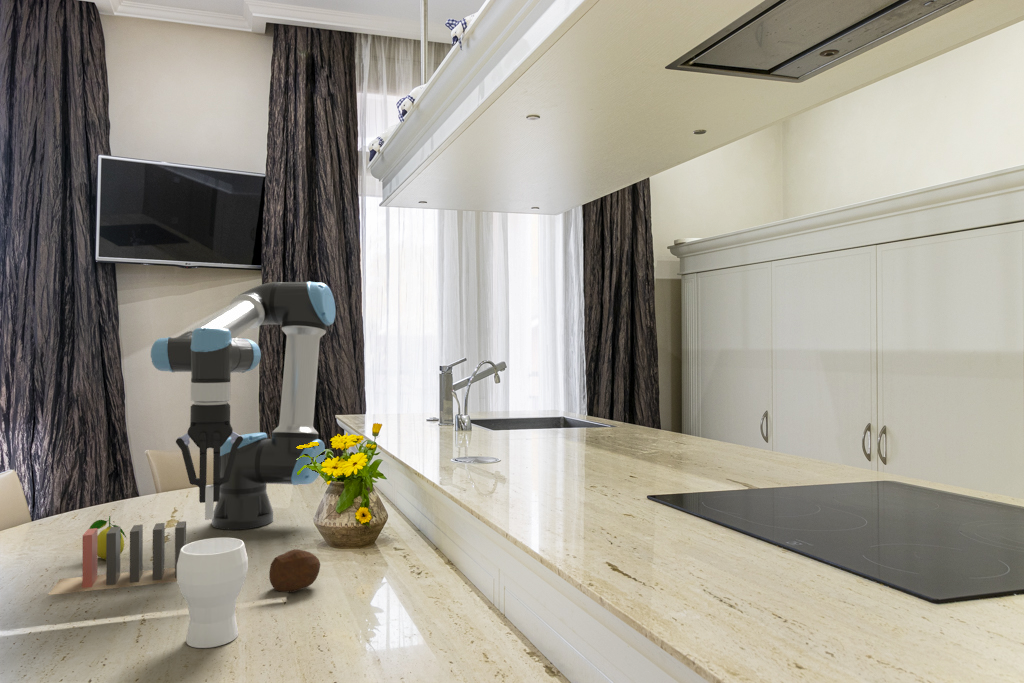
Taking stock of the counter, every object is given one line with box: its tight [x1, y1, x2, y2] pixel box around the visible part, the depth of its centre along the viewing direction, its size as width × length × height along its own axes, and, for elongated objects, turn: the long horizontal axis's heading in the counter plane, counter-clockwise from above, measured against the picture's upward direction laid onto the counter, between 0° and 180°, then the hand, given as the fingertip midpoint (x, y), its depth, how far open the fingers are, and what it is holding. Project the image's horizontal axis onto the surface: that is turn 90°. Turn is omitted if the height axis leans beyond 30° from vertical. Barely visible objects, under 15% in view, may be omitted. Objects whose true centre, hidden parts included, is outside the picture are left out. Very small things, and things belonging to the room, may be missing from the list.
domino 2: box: [105, 525, 121, 585], centre depth 137 cm, size 2×5×10 cm, turn 21°
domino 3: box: [129, 524, 144, 583], centre depth 139 cm, size 2×5×10 cm, turn 21°
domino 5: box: [174, 520, 187, 578], centre depth 141 cm, size 2×5×10 cm, turn 21°
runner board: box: [47, 567, 178, 596], centre depth 138 cm, size 26×9×1 cm, turn 111°
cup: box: [176, 537, 249, 649], centre depth 113 cm, size 11×11×15 cm
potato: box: [268, 548, 321, 594], centre depth 135 cm, size 7×10×8 cm
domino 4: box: [152, 522, 166, 580], centre depth 140 cm, size 2×5×10 cm, turn 21°
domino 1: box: [81, 528, 99, 588], centre depth 136 cm, size 2×5×10 cm, turn 21°
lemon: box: [88, 515, 127, 561], centre depth 151 cm, size 7×6×10 cm
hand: (209, 517), depth 143 cm, fingers closed
